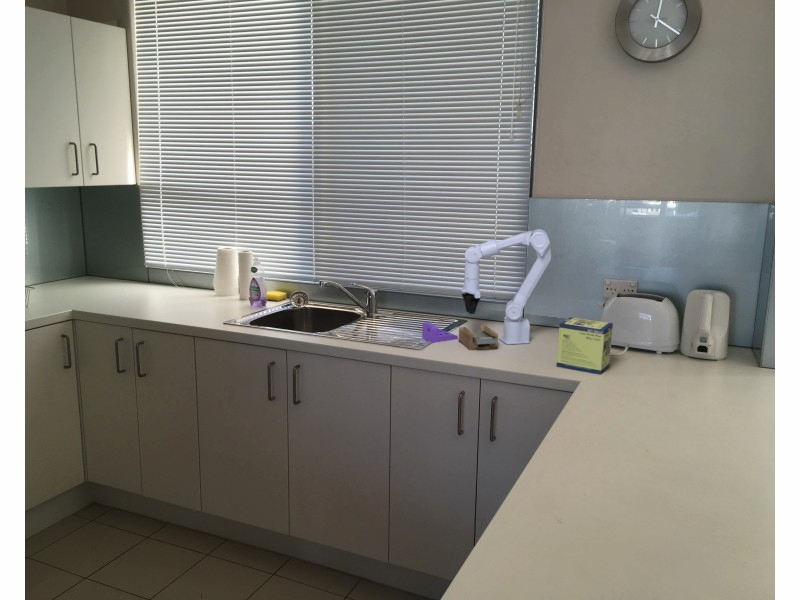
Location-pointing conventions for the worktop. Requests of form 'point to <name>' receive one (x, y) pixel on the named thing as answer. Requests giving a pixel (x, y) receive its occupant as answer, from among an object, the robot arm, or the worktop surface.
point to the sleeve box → (467, 336)
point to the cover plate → (483, 338)
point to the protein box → (584, 345)
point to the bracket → (435, 333)
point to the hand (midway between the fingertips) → (470, 312)
